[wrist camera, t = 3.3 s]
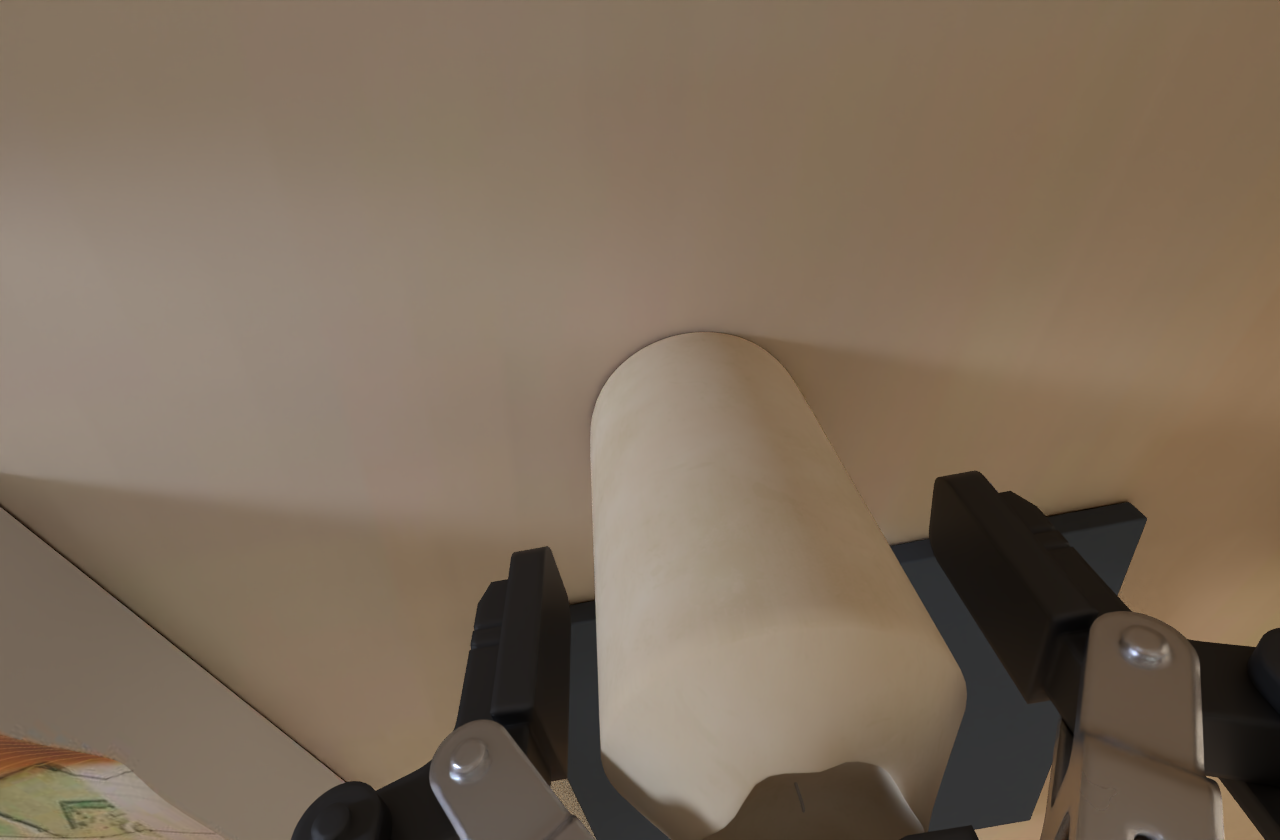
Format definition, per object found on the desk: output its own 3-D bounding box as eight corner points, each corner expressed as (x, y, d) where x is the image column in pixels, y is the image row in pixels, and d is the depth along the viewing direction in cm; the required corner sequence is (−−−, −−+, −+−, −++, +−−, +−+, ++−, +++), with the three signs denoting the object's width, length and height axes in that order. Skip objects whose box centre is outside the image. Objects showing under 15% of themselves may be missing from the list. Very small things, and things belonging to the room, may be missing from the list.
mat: (619, 872, 31) (620, 894, 30) (501, 616, 20) (498, 640, 19) (1020, 802, 31) (1031, 822, 30) (1129, 500, 20) (1151, 520, 19)
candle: (830, 349, 16) (1121, 744, 7) (758, 513, 18) (906, 930, 10) (613, 309, 14) (665, 722, 6) (572, 490, 17) (570, 937, 9)
